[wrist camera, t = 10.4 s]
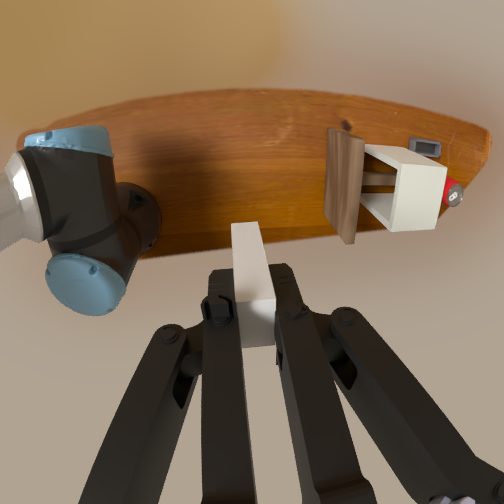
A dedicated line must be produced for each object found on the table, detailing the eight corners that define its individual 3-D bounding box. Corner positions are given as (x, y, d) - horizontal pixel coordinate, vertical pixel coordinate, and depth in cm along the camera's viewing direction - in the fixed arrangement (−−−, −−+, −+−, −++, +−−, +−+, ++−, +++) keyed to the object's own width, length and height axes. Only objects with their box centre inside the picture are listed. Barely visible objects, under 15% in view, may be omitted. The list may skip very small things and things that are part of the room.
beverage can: (431, 178, 51) (465, 199, 41) (416, 189, 53) (449, 212, 42) (425, 159, 49) (461, 177, 39) (409, 170, 50) (444, 191, 40)
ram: (323, 213, 54) (345, 244, 44) (327, 128, 45) (355, 139, 35) (407, 210, 55) (437, 236, 45) (417, 136, 46) (455, 150, 36)
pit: (408, 152, 48) (412, 154, 46) (409, 136, 46) (414, 138, 45) (435, 155, 48) (439, 157, 47) (436, 140, 47) (441, 142, 45)
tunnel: (356, 199, 53) (390, 232, 41) (361, 143, 47) (401, 163, 35) (396, 198, 53) (434, 229, 41) (403, 147, 47) (447, 167, 35)
